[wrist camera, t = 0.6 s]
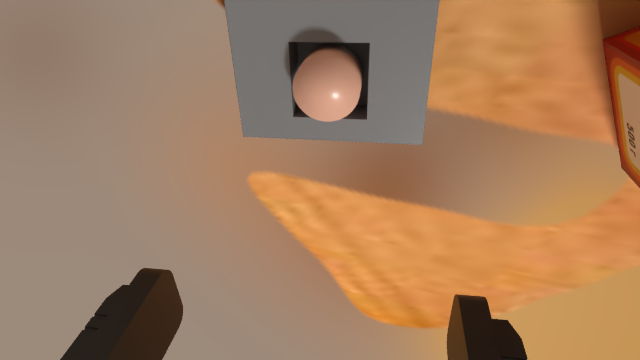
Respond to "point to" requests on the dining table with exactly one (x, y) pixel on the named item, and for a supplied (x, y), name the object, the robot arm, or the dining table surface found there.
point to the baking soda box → (626, 96)
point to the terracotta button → (328, 83)
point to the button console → (345, 30)
